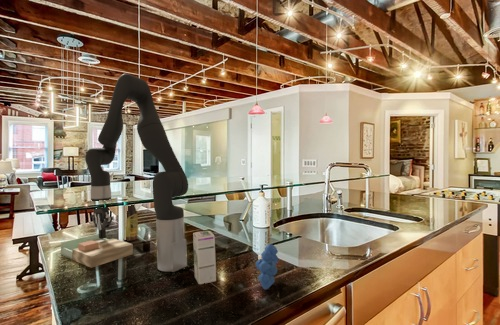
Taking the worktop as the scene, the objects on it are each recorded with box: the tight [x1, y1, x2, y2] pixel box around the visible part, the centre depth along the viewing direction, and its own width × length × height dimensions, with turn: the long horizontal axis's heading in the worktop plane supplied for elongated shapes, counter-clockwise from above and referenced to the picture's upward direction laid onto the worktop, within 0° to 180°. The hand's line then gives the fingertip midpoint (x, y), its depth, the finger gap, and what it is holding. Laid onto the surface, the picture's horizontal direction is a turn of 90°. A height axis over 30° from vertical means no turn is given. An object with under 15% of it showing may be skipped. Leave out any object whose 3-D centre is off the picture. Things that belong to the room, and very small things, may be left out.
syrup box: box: [192, 230, 217, 285], centre depth 88 cm, size 6×6×14 cm
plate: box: [72, 238, 134, 269], centre depth 109 cm, size 14×16×4 cm
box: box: [60, 232, 110, 261], centre depth 116 cm, size 10×16×5 cm, turn 145°
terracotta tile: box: [78, 240, 99, 251], centre depth 108 cm, size 5×5×2 cm
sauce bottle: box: [126, 204, 139, 242], centre depth 131 cm, size 7×6×20 cm
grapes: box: [254, 243, 280, 290], centre depth 83 cm, size 12×7×12 cm, turn 157°
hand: (102, 238), depth 117 cm, fingers closed
